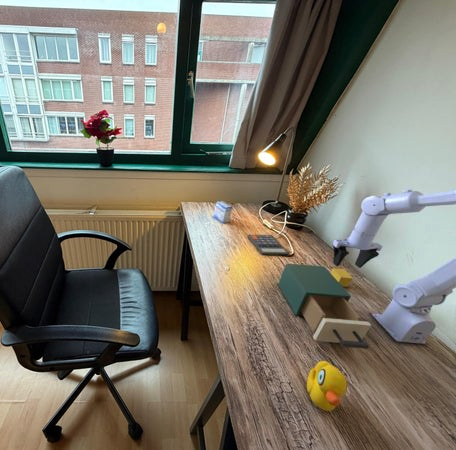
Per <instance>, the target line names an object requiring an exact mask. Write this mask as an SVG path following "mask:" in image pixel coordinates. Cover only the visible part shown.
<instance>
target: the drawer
mask: <svg viewBox="0 0 456 450" xmlns="http://www.w3.org/2000/svg"><path fill="white" fill-rule="evenodd" d="M301 313H302V314H303V316H302V317H303V318H304V320H305V321H306V323H307V324H308V326H309V328H310V329H311V331H312V333H314V334H313V336H312V338H313V340H314V341H315V342H325V343H326V342H327V343H336V344H337V343H338V344H339V346H340V347H343V348H353V349H369V348H370V347H369V346H370V345H369V343H368V342H366V341H364V340H363V339H364V337H365V336H366V334H367V333H368V331H369V329H370V328H371V327H372V324H371V323H370V322H369V321H364V320H361V319H362V317H361V315H359V313H358V312H357V311H356V310H355V309H354V307H352V305H351V304H350V303H349V301H348V302H347V301H346V299H345V298H342V297H330V296H318V295H308V296H307V298H306V300H305V302H304V304H303V306H302V309H301Z"/></svg>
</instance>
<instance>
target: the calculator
mask: <svg viewBox="0 0 456 450" xmlns="http://www.w3.org/2000/svg"><path fill="white" fill-rule="evenodd" d="M247 237H248V238H249V240H250V241H251V242H252V244H253V245H254V247H255V248H256V249H257V250H258V251H259V252H260V254H261V255H268V256H270V255H271V256H272V255H273V256H289V255H290V252H289V251H288V250H287V249H286V248H285V247H284V246H283V245H282V244H281V243H280V242H279V241H278V239H276V238H275V236H273V235H272V234H247Z"/></svg>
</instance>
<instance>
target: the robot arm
mask: <svg viewBox="0 0 456 450" xmlns="http://www.w3.org/2000/svg"><path fill="white" fill-rule="evenodd" d="M453 205H456V189H452V190H446V191H441V192H434V193H427V194H424V193H423V192H420V191H417V190H413V189H403V190H402V192H398V193H391V192H387V193H383V195H371V196H367V197H365V198H364V199H363V200H362V202H361V204H360V208H361V213H360V216H359V217H358V219H357V222H356V224H355V225H354V227H353V229H352V231H351V233H350V235H349V236H348V237H347V238H343V239H334V240H333V243H332V248H333V261H332V264H334V265H335V266H336V267H339V266H340V265H341V263H342V262H343V260H344V259H345V258H346V257H347V255H349V254H350V252H349V251H348V250H347V248H348V249H357V250H359V252H358V256H357V258H356V260H355V263H354V265H355V266H356V267H357V268H358V269H362V268H363V266H365V265H366V264H367V263H368V262H370V261H371V260H372V259H375V258H376V257H377V258H378V257H379V255H380V252H381V250H382V249H383V247H384V246H383V245H382V244H380V243H379V242H373V241H374V240H375V237H376V236H377V234H378V232H379V230H380V228H381V227H382V225H383V223H384V221H385V220H386V219H387V217H389V215H396V214H397V215H398V214H412V213H420V212H421V211H423V210H424V209H425V208H426V207H436V206H437V207H439V206H453ZM454 289H456V256H455V257H453V258H452V259H451V260H449V261H447V262H445V263H444V264H442V265H441V266H439V267H437V268H436V269H434V270H433V271H431V272H430V273H427V274H426V275H424V276H421V277H419V278H416V279H413V280H411V281H410V282H407V283H401V284H400V283H399V284H397V285H395V286H394V287H393V290H392V300H391V301H390V303H389V304H388V305H387V307H386V308H385V309H384V311H383V312H382V313H372V314H371V315H372V318H374V319H375V320H376V321H377V322H378V323H379V325H380V326H381V327H383V329H384V330H385V331H386V332H387V333H388V334H389V335H390V337H392V338H393V340H394V341H395V342H399V343H408V344H409V343H411V344H422V345H425V344H426V340H427V339H428V337H429V336H430V335H431V334H432V333H433V332H434V331H435V329H436V327H437V325H436V323H435V321H434V320H433V319H432V317H431V314H430V312H431V310H432V308H433V306H439V305H441V304H444V303H445V301H446V299H447V297H448V296H449V295H451V294H453V293H454Z"/></svg>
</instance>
